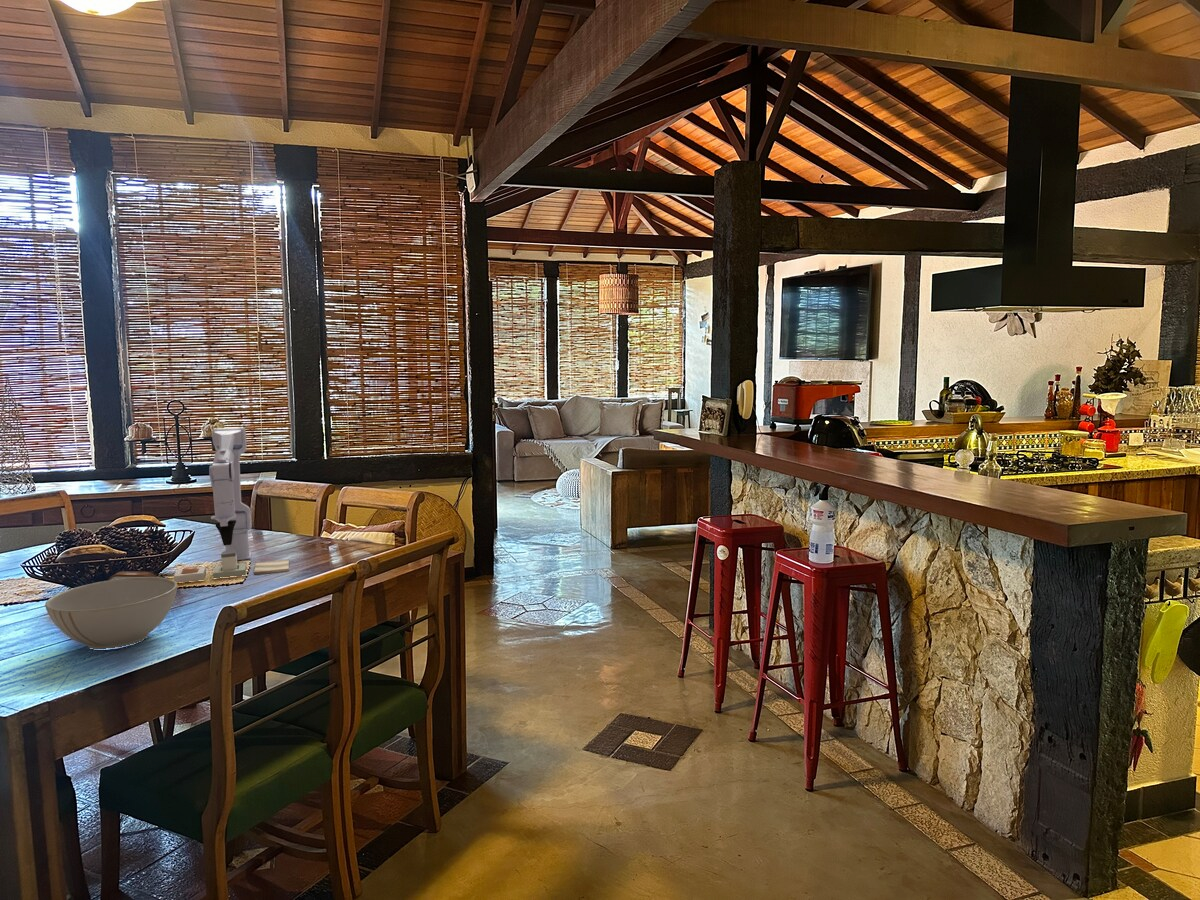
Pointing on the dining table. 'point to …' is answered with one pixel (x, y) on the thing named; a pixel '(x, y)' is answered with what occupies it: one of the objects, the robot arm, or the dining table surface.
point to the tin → (131, 575)
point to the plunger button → (189, 570)
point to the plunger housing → (190, 575)
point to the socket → (230, 571)
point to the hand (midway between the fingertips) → (227, 544)
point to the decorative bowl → (112, 610)
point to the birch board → (271, 567)
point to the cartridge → (229, 560)
